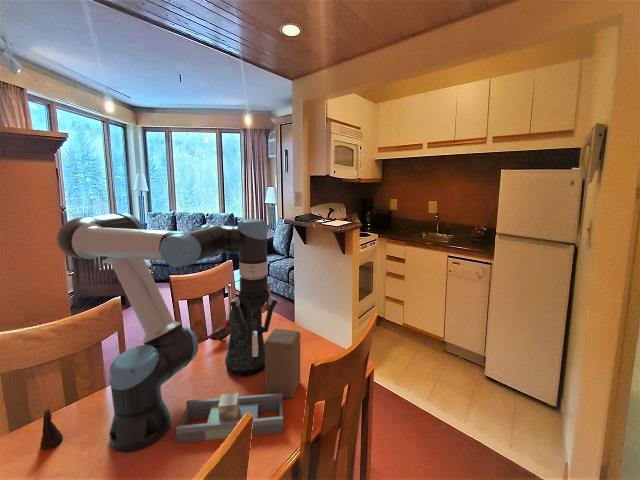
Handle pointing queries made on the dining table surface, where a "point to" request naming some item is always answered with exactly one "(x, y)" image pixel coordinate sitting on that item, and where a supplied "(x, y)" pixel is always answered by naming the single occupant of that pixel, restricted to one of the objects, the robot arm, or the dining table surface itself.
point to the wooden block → (282, 362)
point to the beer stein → (243, 348)
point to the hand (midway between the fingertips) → (255, 354)
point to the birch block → (228, 407)
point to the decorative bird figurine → (220, 332)
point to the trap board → (224, 428)
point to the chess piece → (50, 433)
